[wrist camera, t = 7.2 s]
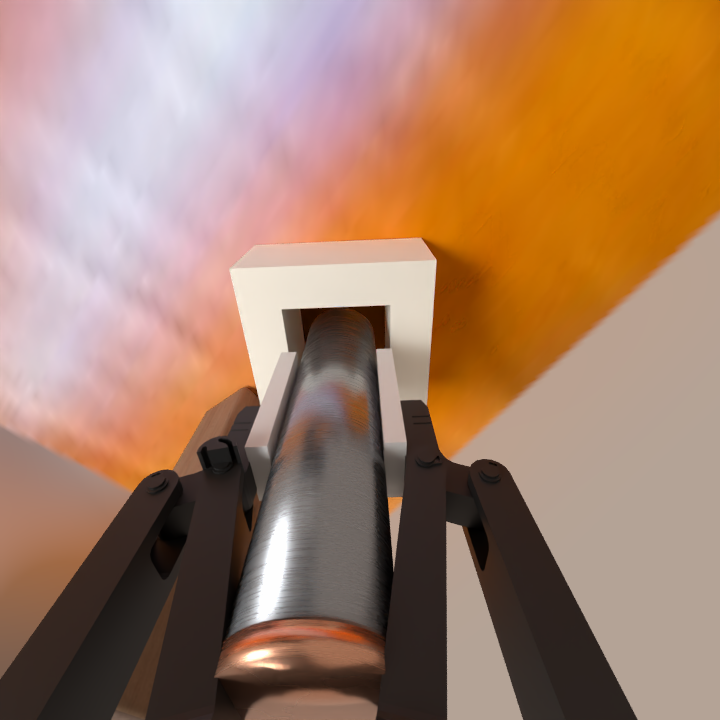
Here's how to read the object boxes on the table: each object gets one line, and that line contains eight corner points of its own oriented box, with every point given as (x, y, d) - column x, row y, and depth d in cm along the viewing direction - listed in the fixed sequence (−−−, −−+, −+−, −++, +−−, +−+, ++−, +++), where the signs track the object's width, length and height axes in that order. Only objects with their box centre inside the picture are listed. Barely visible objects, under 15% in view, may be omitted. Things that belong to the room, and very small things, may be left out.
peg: (311, 368, 23) (230, 735, 8) (304, 308, 21) (179, 659, 6) (376, 366, 23) (404, 733, 8) (374, 305, 21) (409, 655, 6)
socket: (255, 244, 22) (229, 268, 17) (421, 237, 21) (436, 260, 17) (280, 382, 27) (265, 426, 22) (414, 377, 27) (425, 421, 22)
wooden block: (321, 454, 31) (282, 770, 15) (282, 475, 32) (208, 786, 16) (246, 383, 27) (90, 705, 11) (205, 410, 28) (14, 733, 13)
